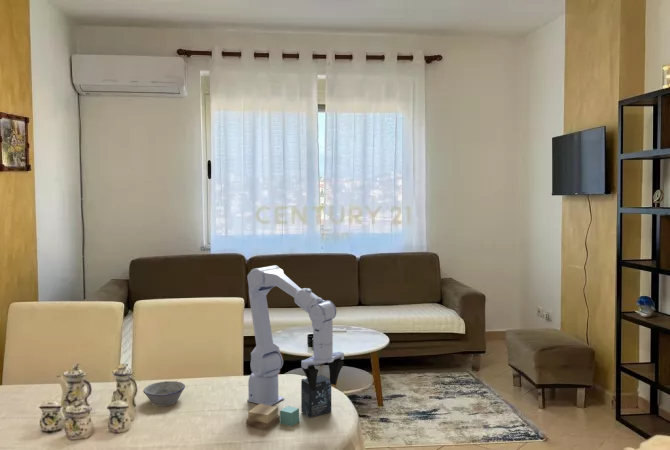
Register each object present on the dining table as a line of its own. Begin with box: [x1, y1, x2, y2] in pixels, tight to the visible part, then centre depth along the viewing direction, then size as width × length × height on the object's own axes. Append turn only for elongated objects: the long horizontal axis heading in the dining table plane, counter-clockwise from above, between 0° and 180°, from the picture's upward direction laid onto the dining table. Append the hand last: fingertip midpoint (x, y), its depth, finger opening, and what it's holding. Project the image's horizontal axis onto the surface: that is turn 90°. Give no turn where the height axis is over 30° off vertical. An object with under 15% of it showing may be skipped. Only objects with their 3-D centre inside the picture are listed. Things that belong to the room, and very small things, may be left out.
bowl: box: [142, 380, 186, 407], centre depth 188 cm, size 13×13×5 cm
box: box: [300, 374, 332, 418], centre depth 178 cm, size 8×6×11 cm
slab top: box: [247, 404, 279, 423], centre depth 170 cm, size 6×6×2 cm
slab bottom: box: [246, 414, 281, 432], centre depth 170 cm, size 7×7×2 cm
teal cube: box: [279, 405, 300, 427], centre depth 171 cm, size 4×4×4 cm
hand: (323, 386), depth 172 cm, fingers open, 7 cm apart
